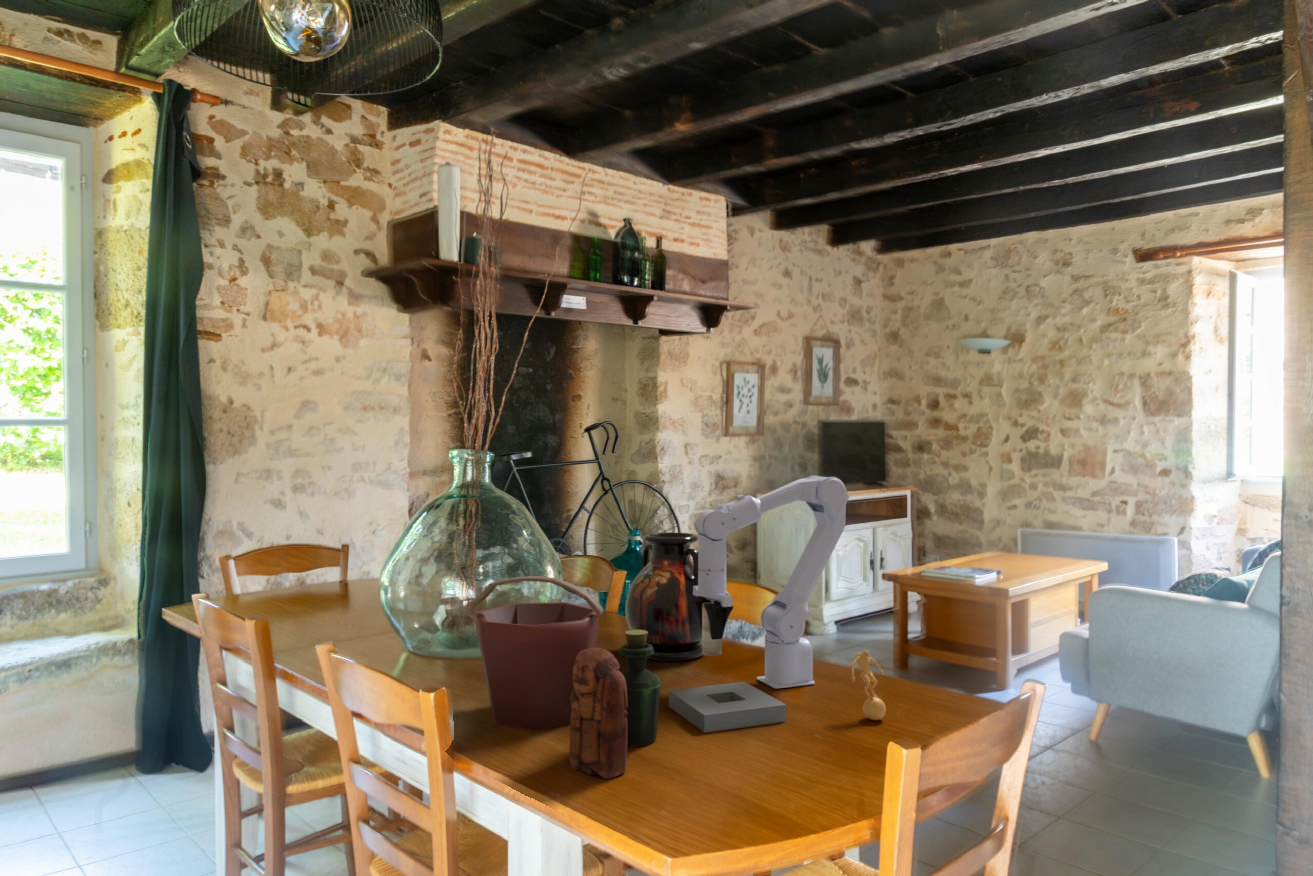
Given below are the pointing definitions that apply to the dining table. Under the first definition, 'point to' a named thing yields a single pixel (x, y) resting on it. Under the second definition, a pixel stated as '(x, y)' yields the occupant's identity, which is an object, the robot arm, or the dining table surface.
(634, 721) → the potion bottle
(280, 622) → the dining table surface
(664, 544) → the amphora vase
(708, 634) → the birch dowel
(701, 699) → the socket block
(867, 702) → the figurine
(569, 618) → the bucket
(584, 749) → the wooden figurine
